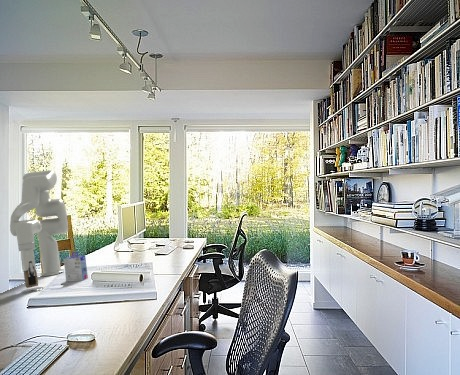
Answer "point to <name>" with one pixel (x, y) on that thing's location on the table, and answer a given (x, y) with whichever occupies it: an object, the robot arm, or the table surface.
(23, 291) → the slate coaster
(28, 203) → the robot arm
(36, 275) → the walnut block
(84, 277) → the ink cartridge box
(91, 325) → the table surface
